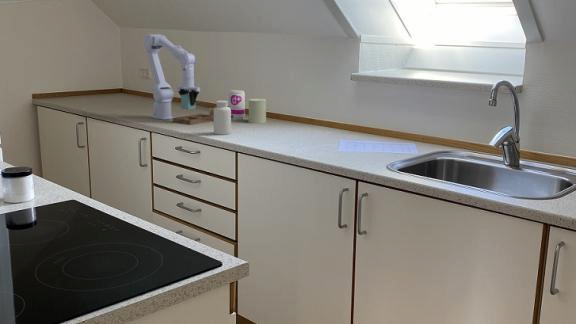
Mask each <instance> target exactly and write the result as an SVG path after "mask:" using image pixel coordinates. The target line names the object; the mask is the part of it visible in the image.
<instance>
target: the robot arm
mask: <svg viewBox="0 0 576 324" xmlns="http://www.w3.org/2000/svg"><path fill="white" fill-rule="evenodd" d="M143 44H144V47H145V53H146V57H147V60H148V62H149V63H148V64H149V66H150V69H151V72H152V76H153V77H152V78H153V81H154V84H155V85H154V87H153V88H152V91H153V95H152V96H153V99H154V102H153V104H152V117H151V118H152V119H157V120H171V119H172V120H173V118H176V117H174V116H172V102H173V99H174V97H175V91H174V90H173V89H172V87H171V86H172V85H170V84H169V83H168V82H166V77H165V75H164V71H163V68H162V65H161V61H160V57H159V54H158V53H160V51H161V50H162V48H165V49H166V50H168V51H169V52H171V56H173V57H174V58H175V59H176V60H178V61H179V64H180V67H181V70H182V72H181V73H182V75H181V77H182V85H177V87H176V89H177V90H178V91H177V92H178V93H179V96H180V97H181V95H184V94H189V96H190V104H191V105H196V101H197V98H198V95H199V92H201V87H197V86H195V74H194V73H195V68H194V67H195V66H194V65H195V64H196V62H197V57H196V55H195V54H194V53H191V52H190V53H189V52H188V51H187V50H185V49H184V48H182V46H181V45H175V44H174V43H173V42H171V41H170V40H169V39H167V36H165V35H164V34H163V33H158V34H155V33H154V34H153V33H152V34H151V33H147V34H145V36H144V38H143Z"/></svg>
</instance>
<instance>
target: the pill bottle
mask: <svg viewBox="0 0 576 324" xmlns="http://www.w3.org/2000/svg"><path fill="white" fill-rule="evenodd" d="M215 105H216V106H215V107H213V108H214V121H213V134H215V135H219V136H221V135H223V136H226V135H230V134H232V120H231V109H230V108H229V101H228V100H217V101H215Z"/></svg>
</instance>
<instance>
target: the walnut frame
mask: <svg viewBox="0 0 576 324" xmlns="http://www.w3.org/2000/svg"><path fill="white" fill-rule="evenodd" d="M172 122H173V123H178V124H183V125H191V126H193V125H197V124H204V123H208V122H214V116H213V115H209V114H205V113H197V114H191V115H184V116H177V117H175V118H172Z"/></svg>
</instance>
